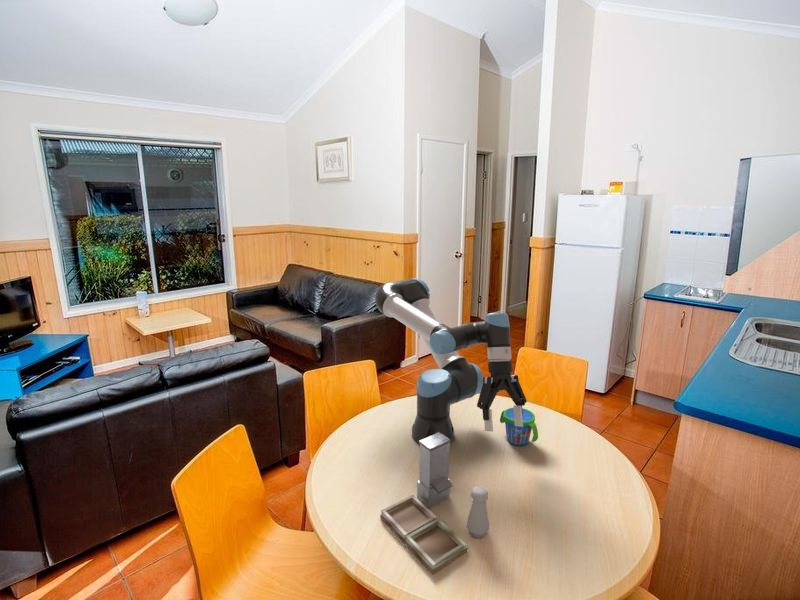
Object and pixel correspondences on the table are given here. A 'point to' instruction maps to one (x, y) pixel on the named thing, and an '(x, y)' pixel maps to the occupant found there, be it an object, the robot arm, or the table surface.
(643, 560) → the table surface
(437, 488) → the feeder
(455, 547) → the grey brown flat rectangle
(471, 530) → the salt shaker
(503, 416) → the snack cup
